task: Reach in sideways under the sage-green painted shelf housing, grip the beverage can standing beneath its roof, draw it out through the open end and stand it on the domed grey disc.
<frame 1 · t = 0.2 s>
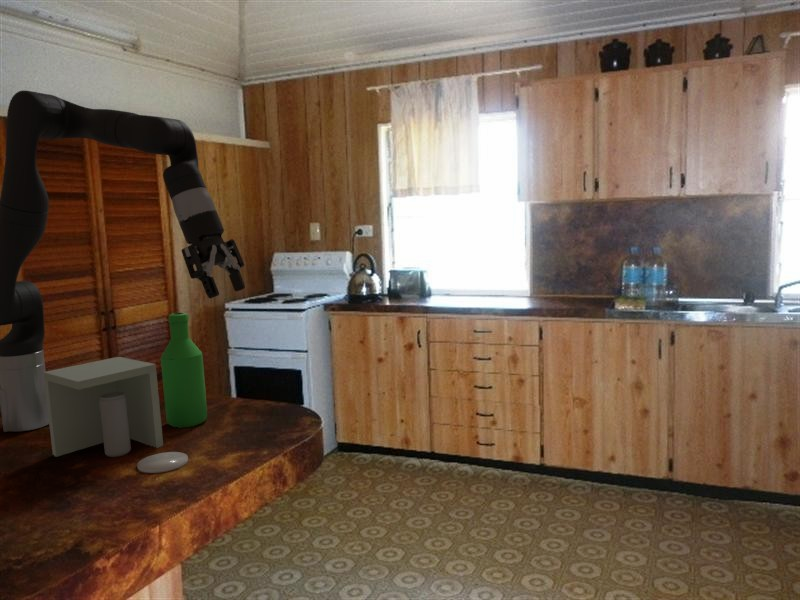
hand: (227, 293, 128), 31 cm above the kitchen counter, tool tilted 20°, fingers open, 8 cm apart
domed grey disc: (163, 463, 124), on the kitchen counter
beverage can: (118, 454, 130), on the kitchen counter
shelf housing: (118, 453, 130), on the kitchen counter
bottle: (187, 423, 148), on the kitchen counter
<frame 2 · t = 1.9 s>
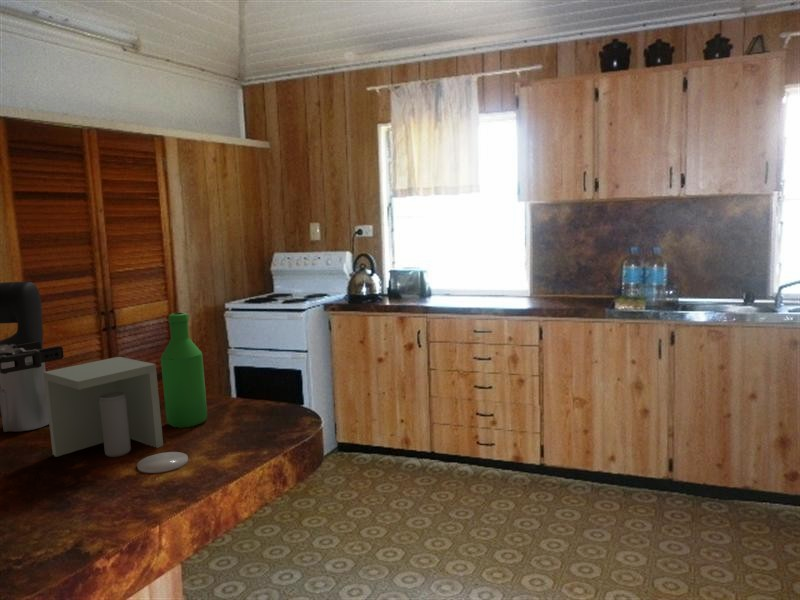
hand: (51, 349, 114), 24 cm above the kitchen counter, tool horizontal, fingers open, 8 cm apart
nothing on the kitchen counter moved.
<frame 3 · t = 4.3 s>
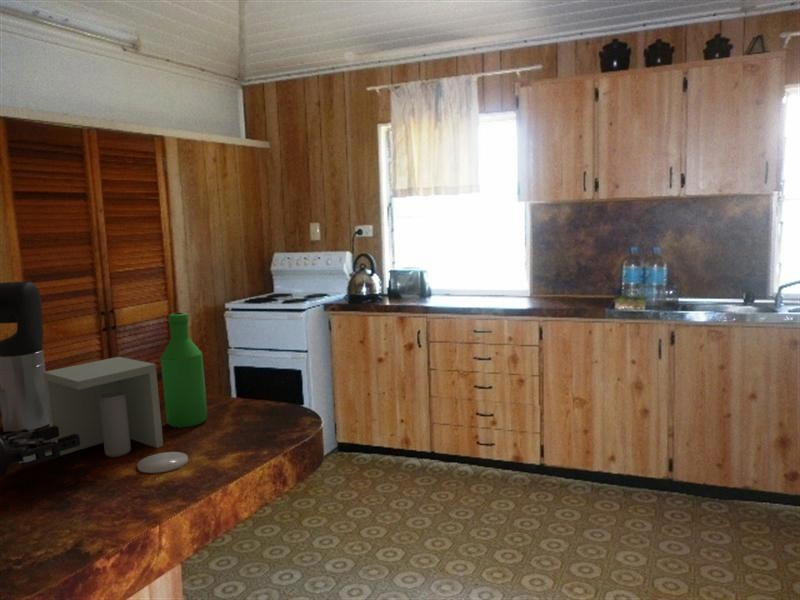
hand: (68, 434, 122), 6 cm above the kitchen counter, tool horizontal, fingers open, 8 cm apart
nothing on the kitchen counter moved.
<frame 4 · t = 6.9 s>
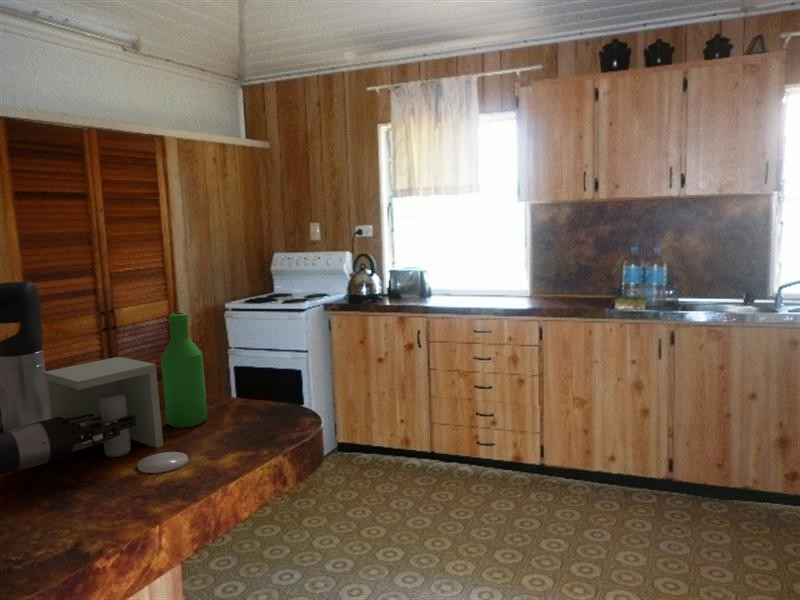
hand: (127, 418, 131), 7 cm above the kitchen counter, tool horizontal, fingers closed on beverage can, 4 cm apart
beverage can: (118, 454, 130), on the kitchen counter, touching gripper
everything else where it was.
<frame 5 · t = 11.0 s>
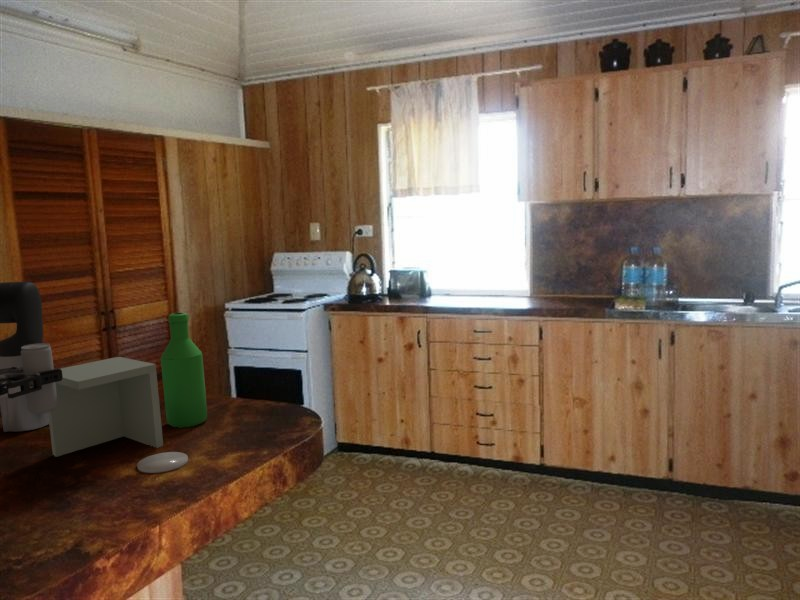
hand: (54, 372, 120), 19 cm above the kitchen counter, tool horizontal, fingers closed on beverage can, 4 cm apart
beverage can: (43, 411, 119), point 12 cm above the kitchen counter, touching gripper
everything else where it was.
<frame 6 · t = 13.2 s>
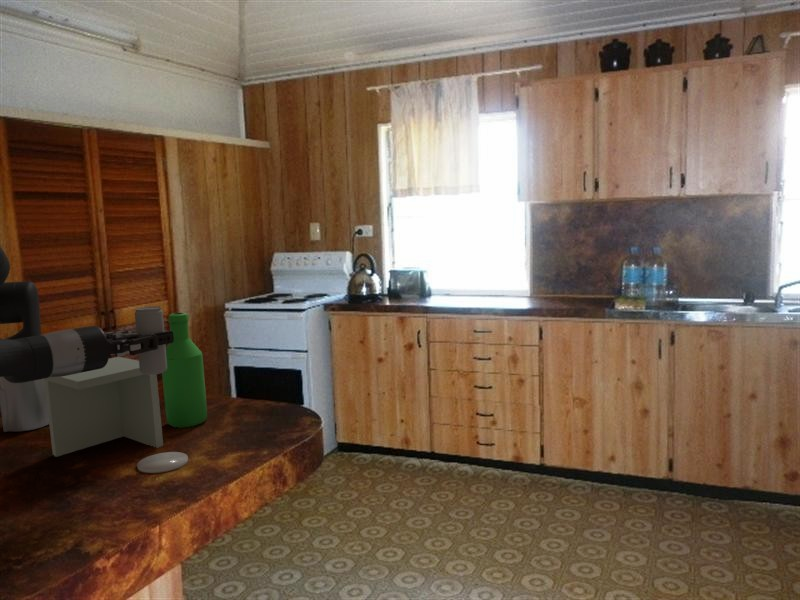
hand: (163, 335, 122), 24 cm above the kitchen counter, tool horizontal, fingers closed on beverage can, 4 cm apart
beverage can: (153, 373, 121), point 17 cm above the kitchen counter, touching gripper
everything else where it was.
when the fingers open (8 cm above the kitchen counter, at t = 15.3 s): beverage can stays where it is, resting on domed grey disc.
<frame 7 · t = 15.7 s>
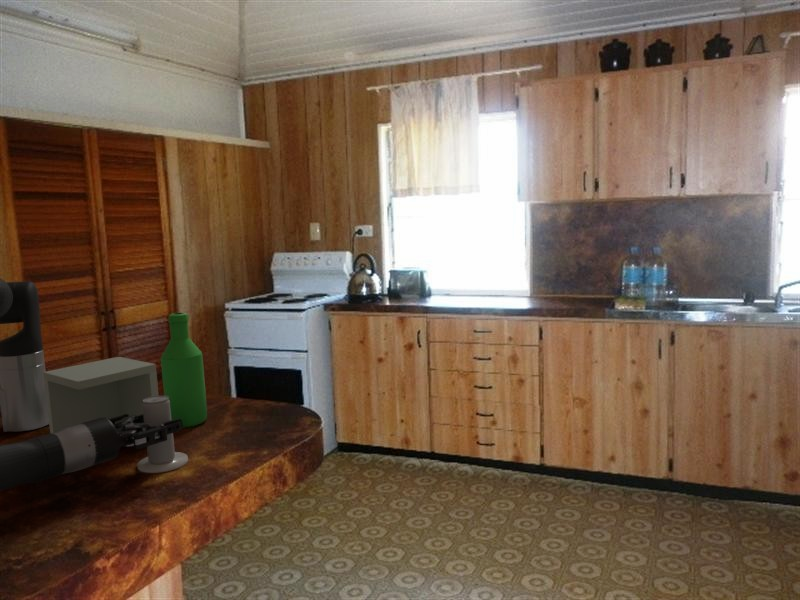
hand: (168, 419, 124), 8 cm above the kitchen counter, tool horizontal, fingers open, 8 cm apart
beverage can: (162, 461, 123), resting on domed grey disc
everything else where it was.
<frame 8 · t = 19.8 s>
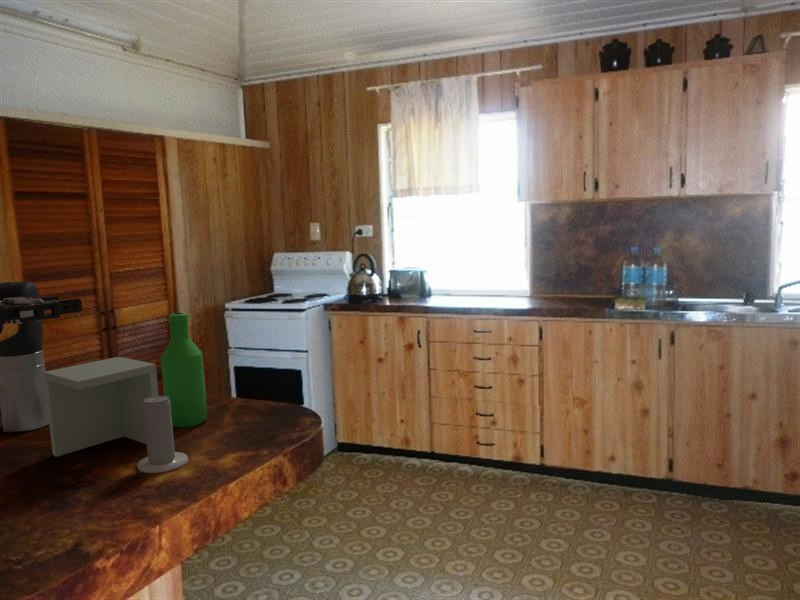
hand: (69, 303, 112), 32 cm above the kitchen counter, tool horizontal, fingers open, 8 cm apart
nothing on the kitchen counter moved.
at the end: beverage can 0.1 cm from the domed grey disc (horizontally); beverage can tilted 0°; the gripper is holding nothing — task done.
